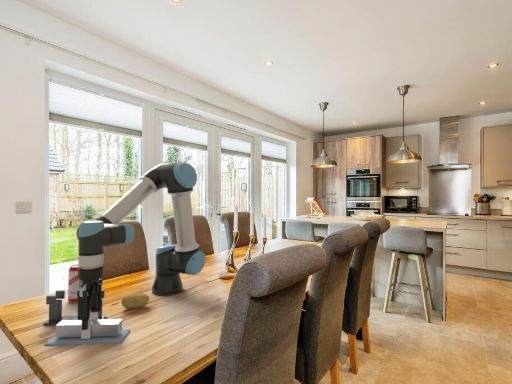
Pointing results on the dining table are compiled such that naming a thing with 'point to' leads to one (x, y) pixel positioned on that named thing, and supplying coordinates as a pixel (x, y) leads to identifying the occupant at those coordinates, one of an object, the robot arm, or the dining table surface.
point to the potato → (134, 300)
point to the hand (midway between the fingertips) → (89, 334)
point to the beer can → (73, 284)
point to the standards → (56, 309)
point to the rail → (97, 328)
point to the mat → (92, 340)
